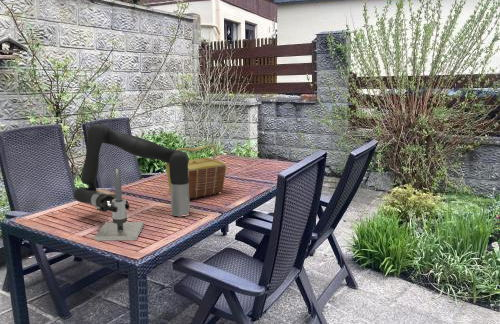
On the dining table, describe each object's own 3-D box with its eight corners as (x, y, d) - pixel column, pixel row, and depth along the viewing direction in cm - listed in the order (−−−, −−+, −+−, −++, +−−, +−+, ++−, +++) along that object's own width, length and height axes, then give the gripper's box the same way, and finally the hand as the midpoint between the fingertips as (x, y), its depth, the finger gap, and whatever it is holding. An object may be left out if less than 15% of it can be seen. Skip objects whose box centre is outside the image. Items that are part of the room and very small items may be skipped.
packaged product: (89, 189, 249) (105, 186, 256) (90, 197, 250) (106, 194, 257) (104, 195, 237) (120, 192, 244) (104, 204, 238) (120, 200, 244)
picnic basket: (186, 204, 237) (185, 152, 231) (164, 194, 257) (163, 146, 251) (228, 195, 256) (228, 147, 250) (204, 186, 275) (204, 141, 269)
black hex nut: (127, 219, 194) (127, 215, 194) (125, 223, 189) (124, 219, 188) (115, 219, 194) (114, 215, 194) (111, 223, 188) (111, 219, 188)
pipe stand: (144, 225, 202) (141, 165, 196) (136, 240, 184) (133, 173, 178) (105, 226, 201) (102, 165, 195) (94, 240, 183) (90, 173, 177)
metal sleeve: (127, 215, 194) (126, 198, 192) (124, 219, 188) (123, 202, 187) (114, 215, 194) (113, 198, 192) (111, 219, 188) (110, 202, 186)
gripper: (87, 196, 193) (107, 203, 182) (115, 190, 204) (135, 197, 193) (88, 212, 195) (108, 220, 184) (116, 205, 205) (136, 212, 194)
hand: (122, 208), depth 188 cm, fingers closed on metal sleeve, 5 cm apart
